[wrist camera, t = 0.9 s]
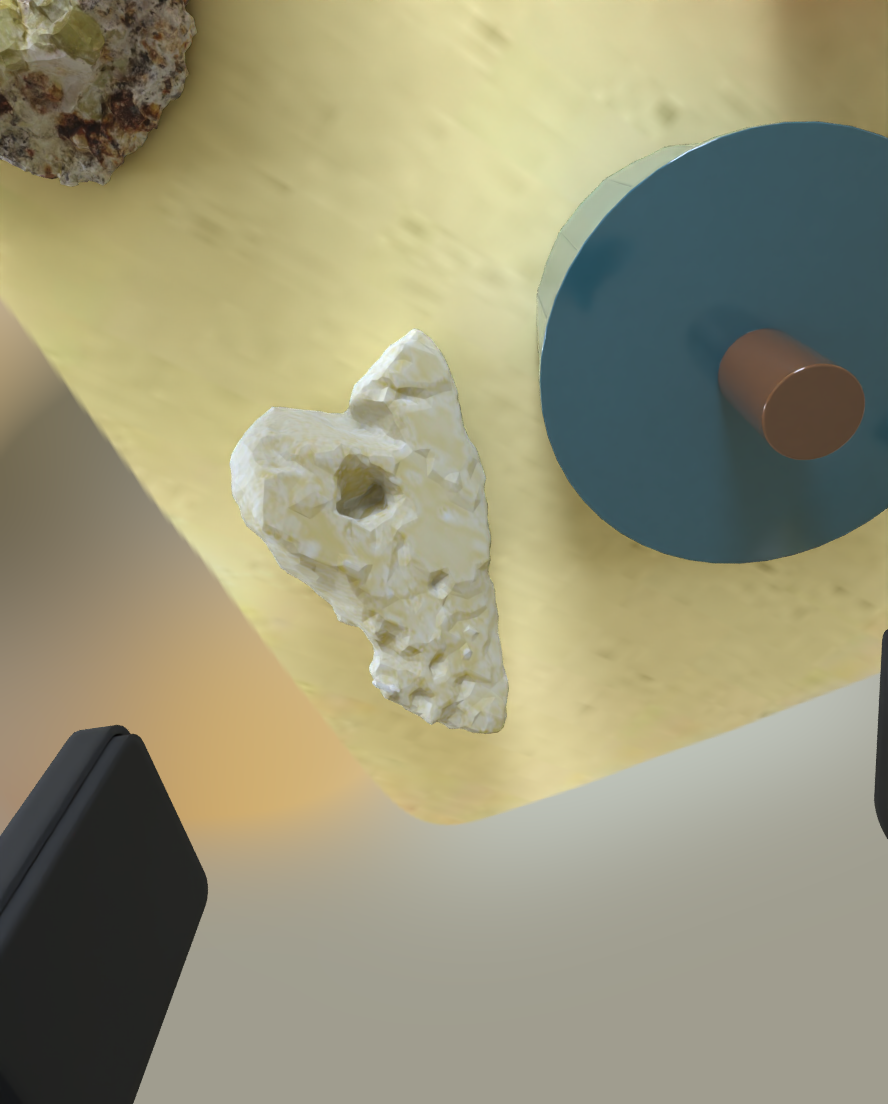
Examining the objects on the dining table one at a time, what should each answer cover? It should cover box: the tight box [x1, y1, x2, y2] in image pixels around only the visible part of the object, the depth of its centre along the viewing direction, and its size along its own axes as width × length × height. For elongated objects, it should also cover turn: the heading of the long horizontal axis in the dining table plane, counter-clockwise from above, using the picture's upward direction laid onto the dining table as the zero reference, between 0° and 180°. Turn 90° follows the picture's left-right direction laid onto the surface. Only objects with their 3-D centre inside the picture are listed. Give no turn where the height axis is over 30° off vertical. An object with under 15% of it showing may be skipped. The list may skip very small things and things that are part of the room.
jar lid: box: [539, 121, 888, 564], centre depth 23 cm, size 14×14×6 cm
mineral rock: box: [0, 0, 197, 186], centre depth 29 cm, size 11×4×8 cm
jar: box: [537, 143, 700, 358], centre depth 29 cm, size 13×13×10 cm
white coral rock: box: [230, 328, 509, 734], centre depth 36 cm, size 15×7×15 cm
